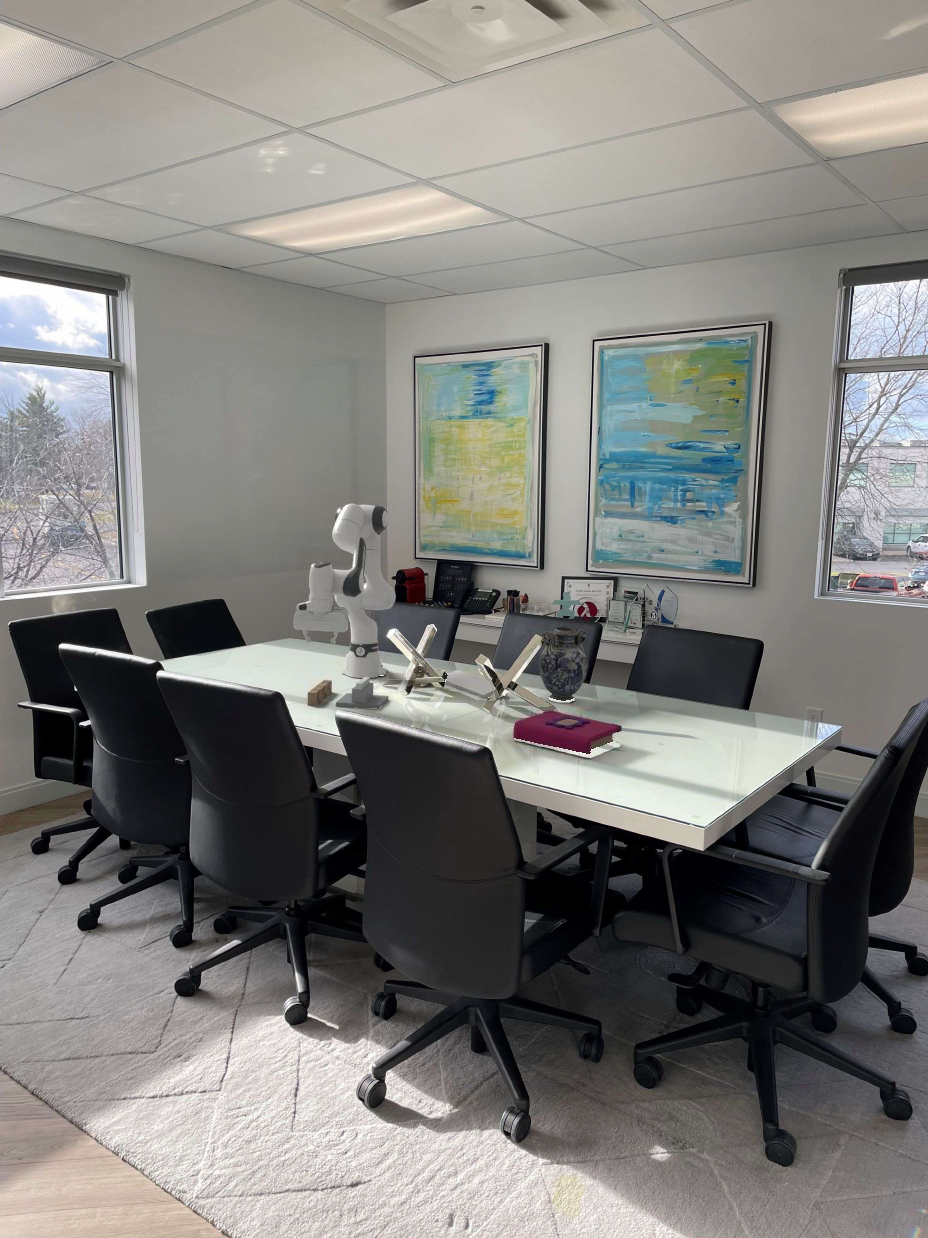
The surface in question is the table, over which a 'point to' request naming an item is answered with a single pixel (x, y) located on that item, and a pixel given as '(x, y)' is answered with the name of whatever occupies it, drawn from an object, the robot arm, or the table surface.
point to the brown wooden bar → (319, 692)
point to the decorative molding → (470, 683)
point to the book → (565, 731)
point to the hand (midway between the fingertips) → (320, 642)
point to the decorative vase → (563, 662)
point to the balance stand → (362, 696)
